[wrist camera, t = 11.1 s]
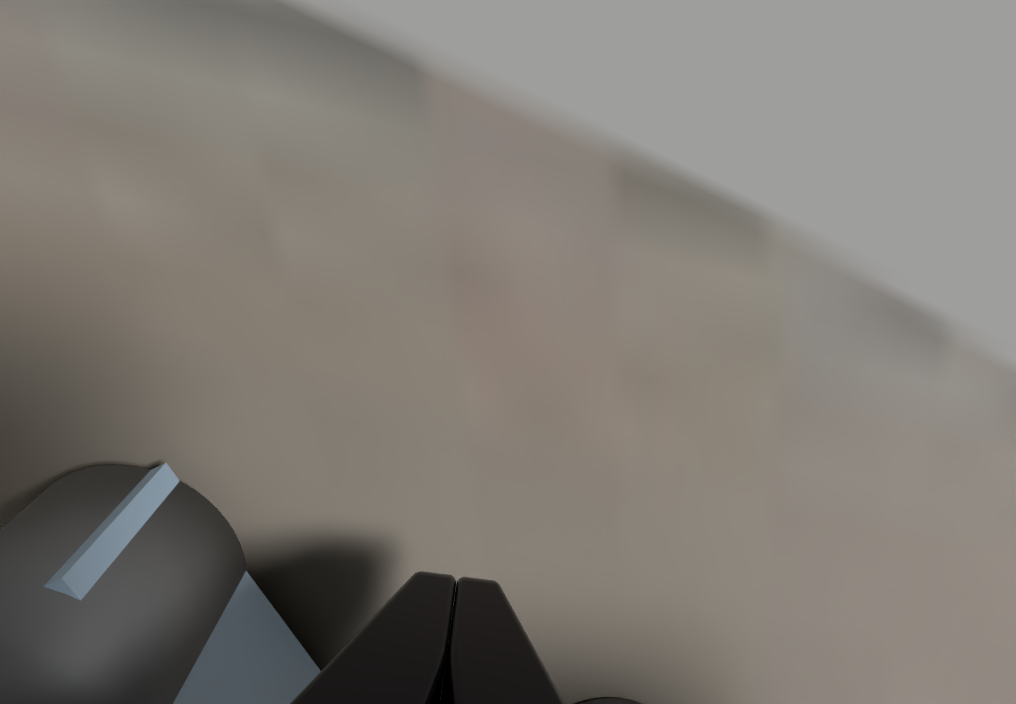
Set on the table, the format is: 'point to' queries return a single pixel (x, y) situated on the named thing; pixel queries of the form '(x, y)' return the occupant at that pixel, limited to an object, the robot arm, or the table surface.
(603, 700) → the post
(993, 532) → the table surface
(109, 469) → the crank
